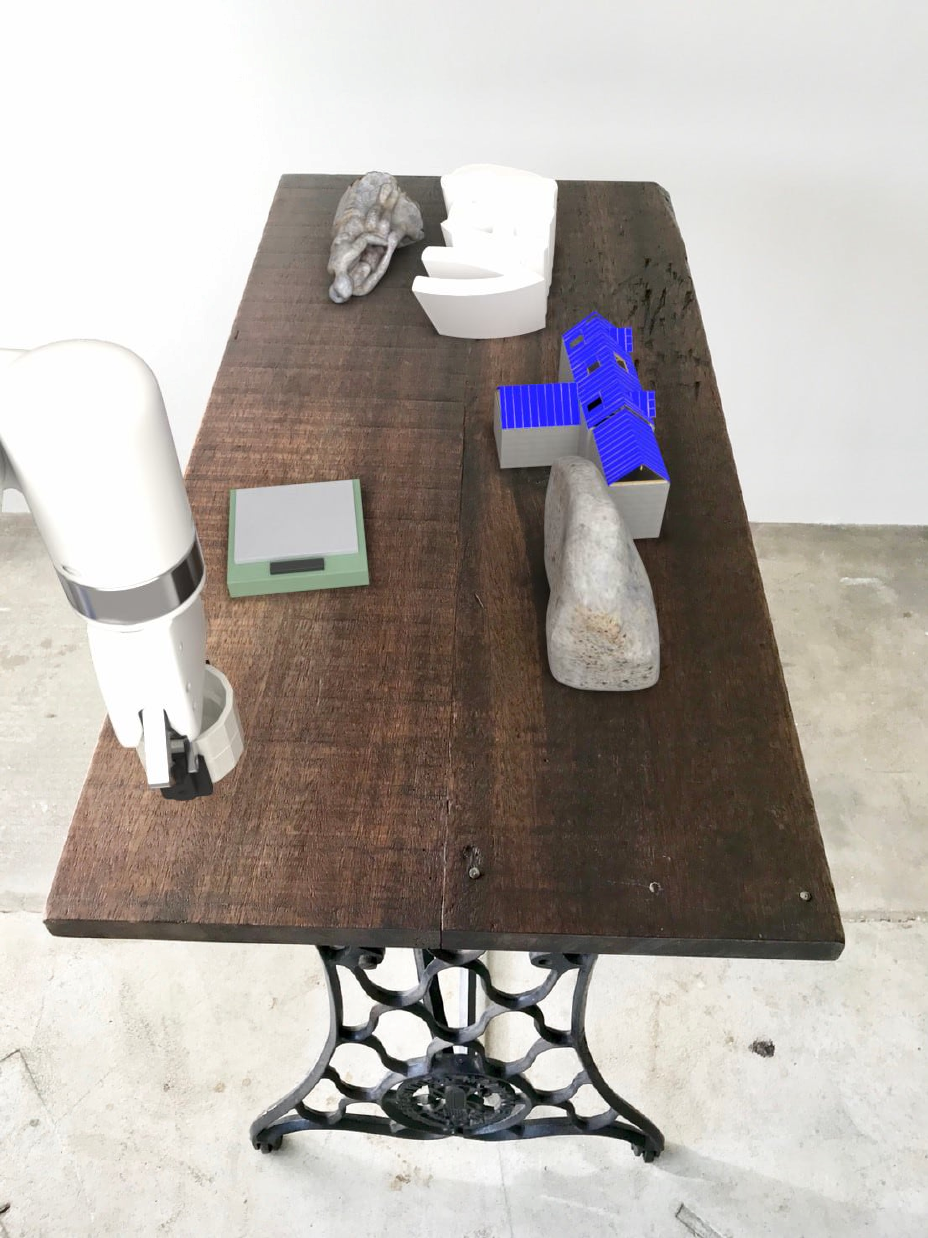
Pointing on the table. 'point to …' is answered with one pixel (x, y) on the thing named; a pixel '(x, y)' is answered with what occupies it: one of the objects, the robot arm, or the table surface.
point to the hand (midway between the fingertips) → (192, 743)
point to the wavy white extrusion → (491, 254)
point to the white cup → (214, 728)
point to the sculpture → (370, 233)
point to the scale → (296, 538)
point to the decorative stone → (595, 587)
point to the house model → (591, 422)
